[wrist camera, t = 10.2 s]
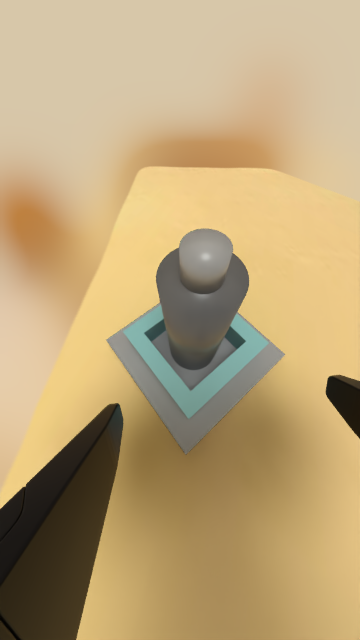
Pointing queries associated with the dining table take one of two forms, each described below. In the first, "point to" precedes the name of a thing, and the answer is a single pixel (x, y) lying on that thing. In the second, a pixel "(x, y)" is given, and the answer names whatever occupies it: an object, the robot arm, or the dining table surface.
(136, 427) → the dining table surface
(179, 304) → the plug
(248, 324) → the socket
